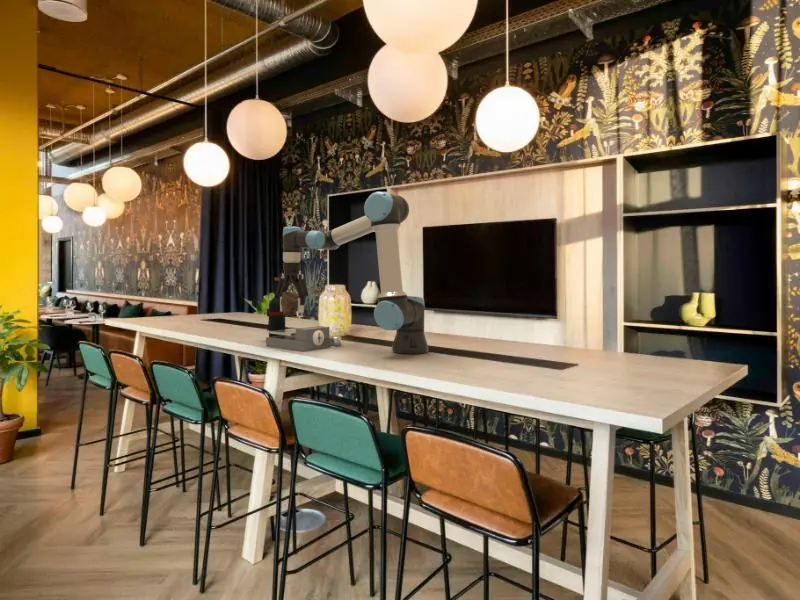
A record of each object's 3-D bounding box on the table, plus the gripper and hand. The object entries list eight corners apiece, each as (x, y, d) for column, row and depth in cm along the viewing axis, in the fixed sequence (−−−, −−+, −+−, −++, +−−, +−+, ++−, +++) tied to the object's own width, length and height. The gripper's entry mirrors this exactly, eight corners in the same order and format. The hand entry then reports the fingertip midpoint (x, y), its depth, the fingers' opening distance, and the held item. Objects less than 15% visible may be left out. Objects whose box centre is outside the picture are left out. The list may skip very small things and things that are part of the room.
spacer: (343, 345, 243) (343, 336, 242) (335, 346, 239) (335, 337, 238) (335, 344, 246) (335, 335, 245) (327, 345, 242) (327, 337, 241)
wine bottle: (274, 339, 260) (273, 277, 258) (289, 341, 255) (289, 277, 253) (261, 341, 254) (261, 277, 252) (277, 343, 248) (276, 277, 246)
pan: (314, 335, 241) (314, 330, 241) (290, 338, 230) (290, 333, 230) (293, 332, 249) (293, 328, 249) (269, 335, 238) (269, 331, 238)
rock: (303, 305, 233) (283, 292, 231) (290, 323, 235) (270, 311, 233) (306, 297, 245) (287, 284, 243) (293, 314, 247) (275, 302, 245)
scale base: (332, 347, 236) (332, 327, 236) (305, 351, 223) (305, 330, 223) (293, 342, 251) (293, 323, 251) (266, 346, 238) (265, 326, 238)
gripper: (316, 262, 234) (316, 313, 235) (280, 262, 248) (280, 310, 249) (303, 262, 228) (303, 314, 229) (267, 262, 242) (267, 311, 243)
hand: (291, 312), depth 239 cm, fingers closed on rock, 11 cm apart
